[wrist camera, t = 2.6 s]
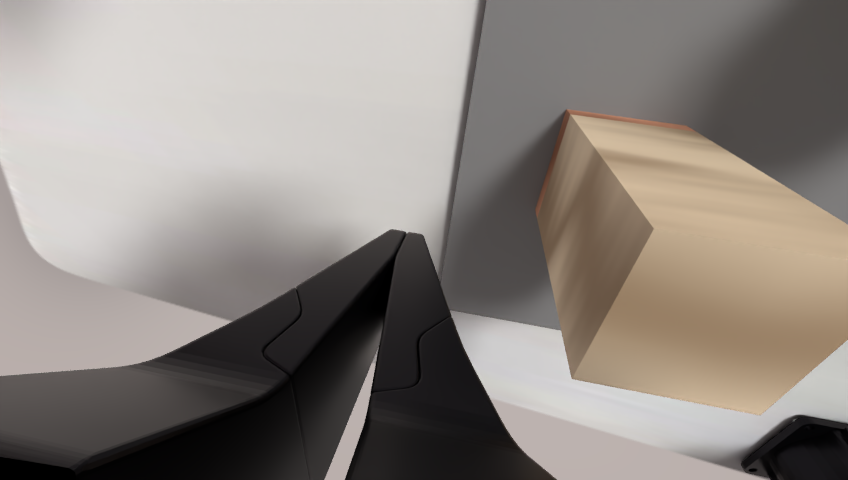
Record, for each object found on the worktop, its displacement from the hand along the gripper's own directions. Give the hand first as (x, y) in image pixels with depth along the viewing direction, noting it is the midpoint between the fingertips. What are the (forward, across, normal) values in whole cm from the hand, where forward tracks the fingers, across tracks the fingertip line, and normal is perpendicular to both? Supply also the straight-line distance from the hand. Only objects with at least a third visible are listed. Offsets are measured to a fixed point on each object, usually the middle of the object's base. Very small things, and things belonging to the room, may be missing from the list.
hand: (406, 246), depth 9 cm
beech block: (+8, -7, 0) cm, 10 cm away
